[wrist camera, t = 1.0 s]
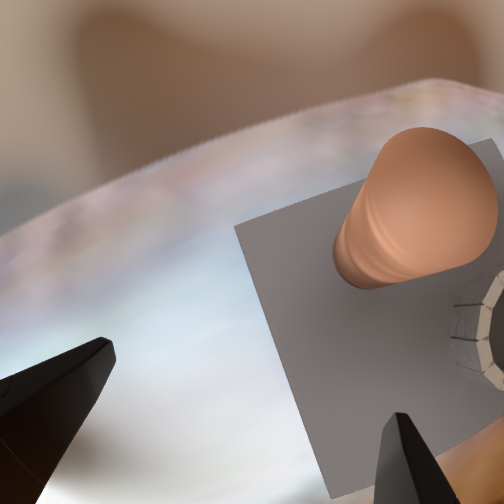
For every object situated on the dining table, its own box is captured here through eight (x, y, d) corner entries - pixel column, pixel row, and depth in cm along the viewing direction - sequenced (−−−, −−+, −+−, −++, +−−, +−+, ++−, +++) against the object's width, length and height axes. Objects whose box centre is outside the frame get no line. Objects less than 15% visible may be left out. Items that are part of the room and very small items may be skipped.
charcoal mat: (557, 363, 17) (563, 364, 16) (330, 493, 19) (331, 499, 18) (486, 143, 22) (491, 138, 21) (236, 229, 23) (233, 226, 22)
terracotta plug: (411, 273, 20) (515, 236, 8) (347, 300, 20) (410, 291, 9) (384, 207, 21) (457, 116, 9) (321, 231, 21) (347, 147, 10)
